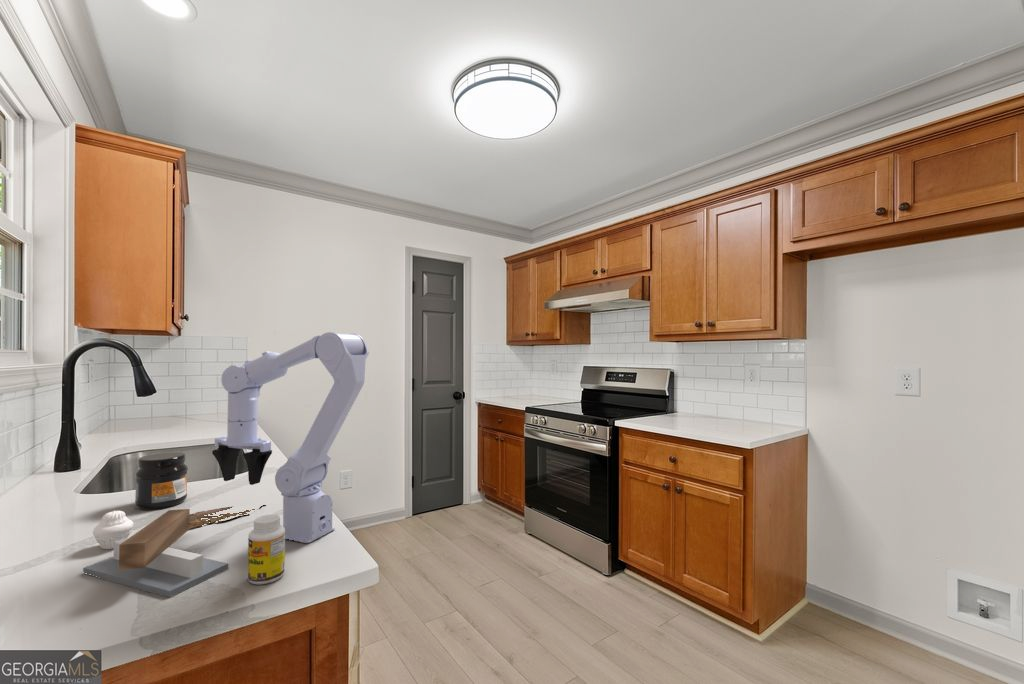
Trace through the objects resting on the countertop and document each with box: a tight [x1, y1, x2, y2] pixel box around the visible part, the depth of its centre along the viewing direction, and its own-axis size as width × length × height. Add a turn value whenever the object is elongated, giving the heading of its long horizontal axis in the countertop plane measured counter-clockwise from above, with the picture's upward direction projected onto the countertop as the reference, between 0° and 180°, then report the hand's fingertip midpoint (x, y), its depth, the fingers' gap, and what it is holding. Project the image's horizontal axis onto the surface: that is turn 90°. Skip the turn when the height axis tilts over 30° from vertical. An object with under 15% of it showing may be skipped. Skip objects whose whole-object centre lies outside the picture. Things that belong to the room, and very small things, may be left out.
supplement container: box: [134, 451, 189, 511], centre depth 116 cm, size 10×10×12 cm
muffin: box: [92, 510, 134, 550], centre depth 91 cm, size 6×6×7 cm
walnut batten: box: [119, 508, 191, 570], centre depth 81 cm, size 4×16×4 cm, turn 13°
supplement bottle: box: [247, 514, 286, 586], centre depth 79 cm, size 6×6×10 cm
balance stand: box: [82, 537, 229, 598], centre depth 81 cm, size 22×10×4 cm, turn 70°
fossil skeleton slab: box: [188, 506, 255, 531], centre depth 107 cm, size 26×11×1 cm, turn 138°
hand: (241, 481), depth 101 cm, fingers open, 7 cm apart
